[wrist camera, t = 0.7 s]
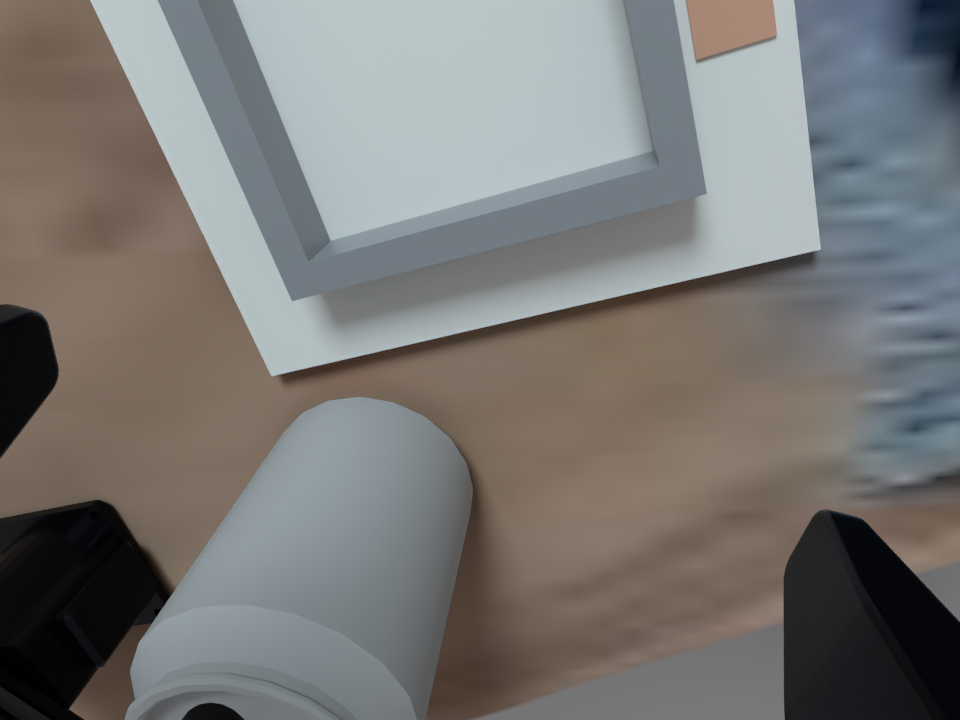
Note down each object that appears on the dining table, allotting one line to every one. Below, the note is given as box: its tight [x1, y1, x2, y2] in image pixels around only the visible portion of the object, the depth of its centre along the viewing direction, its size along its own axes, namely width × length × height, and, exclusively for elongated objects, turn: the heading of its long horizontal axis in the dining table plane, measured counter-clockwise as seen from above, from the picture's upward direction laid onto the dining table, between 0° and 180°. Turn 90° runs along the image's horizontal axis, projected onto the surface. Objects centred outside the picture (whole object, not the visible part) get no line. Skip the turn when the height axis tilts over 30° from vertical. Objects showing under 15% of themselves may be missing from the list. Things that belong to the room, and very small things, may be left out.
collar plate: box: [90, 0, 821, 376], centre depth 18 cm, size 18×18×3 cm
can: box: [124, 397, 473, 720], centre depth 21 cm, size 8×8×12 cm
